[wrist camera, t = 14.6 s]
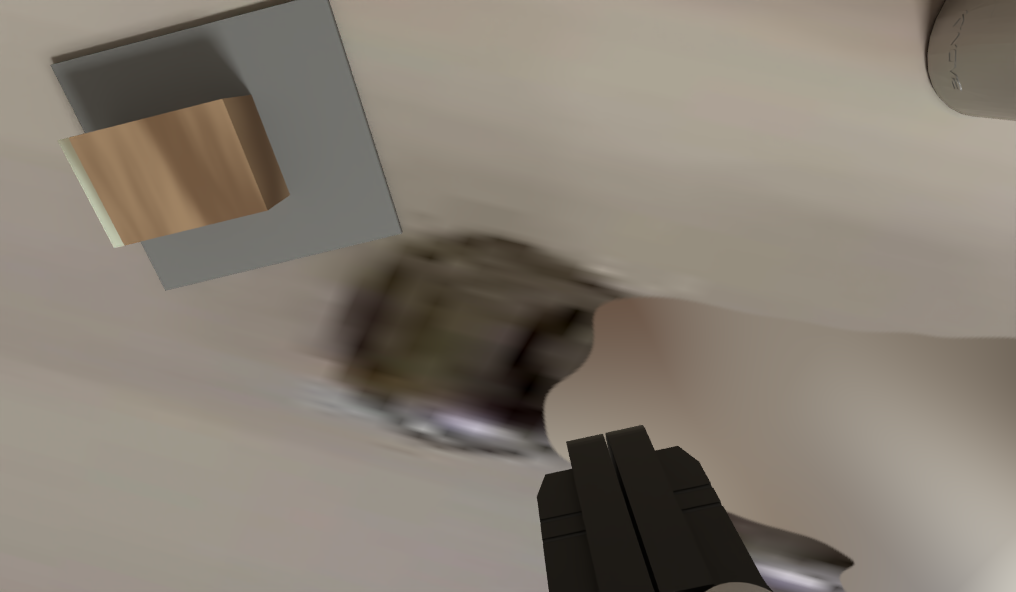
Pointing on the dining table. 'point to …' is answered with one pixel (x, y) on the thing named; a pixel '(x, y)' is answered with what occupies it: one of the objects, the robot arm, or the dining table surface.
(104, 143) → the block
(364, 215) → the mat
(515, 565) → the dining table surface
